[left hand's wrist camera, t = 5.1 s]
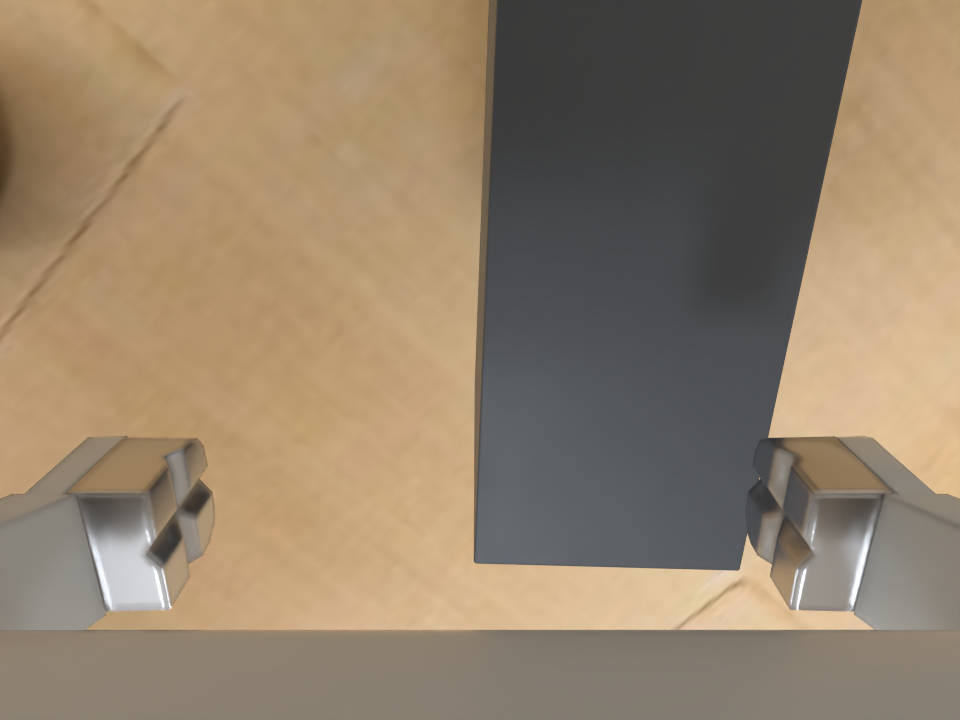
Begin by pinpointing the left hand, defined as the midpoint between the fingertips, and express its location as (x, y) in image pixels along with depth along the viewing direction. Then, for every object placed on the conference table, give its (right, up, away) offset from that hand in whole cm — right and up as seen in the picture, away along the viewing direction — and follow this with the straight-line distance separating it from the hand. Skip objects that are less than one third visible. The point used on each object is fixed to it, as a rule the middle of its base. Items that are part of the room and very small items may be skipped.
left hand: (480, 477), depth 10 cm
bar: (+3, +13, +9) cm, 16 cm away
